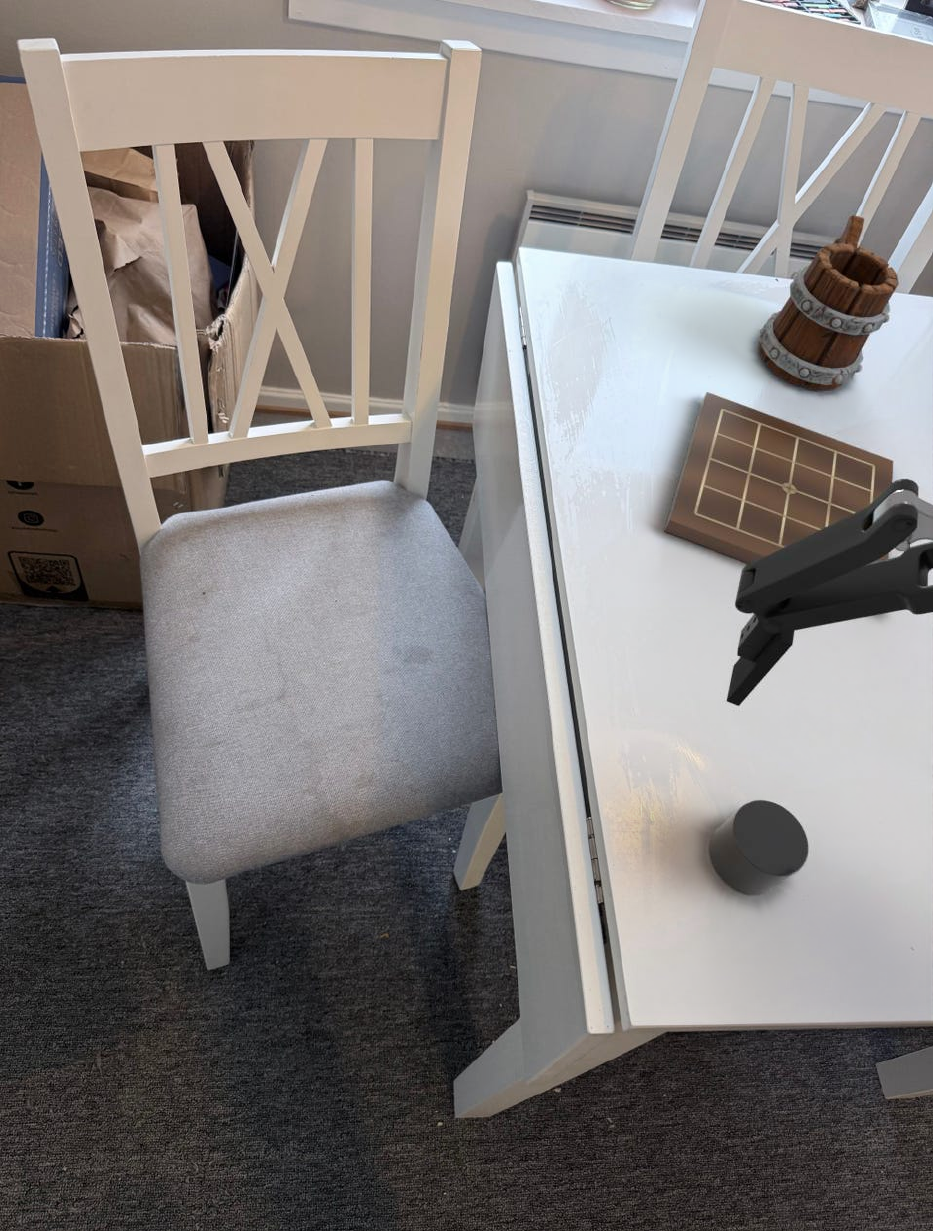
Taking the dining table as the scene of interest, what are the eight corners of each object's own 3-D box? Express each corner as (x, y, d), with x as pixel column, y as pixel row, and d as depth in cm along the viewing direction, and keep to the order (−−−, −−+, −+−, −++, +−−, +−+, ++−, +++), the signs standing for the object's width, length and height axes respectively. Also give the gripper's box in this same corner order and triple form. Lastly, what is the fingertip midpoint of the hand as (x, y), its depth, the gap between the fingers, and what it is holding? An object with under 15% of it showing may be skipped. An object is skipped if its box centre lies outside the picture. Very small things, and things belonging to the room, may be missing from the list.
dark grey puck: (795, 871, 59) (824, 851, 55) (744, 909, 56) (771, 891, 53) (745, 809, 61) (770, 786, 58) (694, 843, 59) (717, 822, 55)
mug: (752, 380, 91) (820, 241, 81) (744, 326, 101) (803, 197, 91) (856, 409, 91) (937, 274, 81) (836, 352, 101) (906, 226, 91)
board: (876, 613, 74) (886, 602, 73) (663, 531, 76) (669, 520, 75) (885, 471, 86) (893, 460, 85) (701, 402, 88) (707, 391, 86)
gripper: (1439, 523, 33) (1051, 758, 50) (836, 306, 35) (658, 604, 52) (1516, 668, 29) (1061, 873, 46) (820, 410, 31) (631, 699, 48)
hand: (846, 730), depth 49 cm, fingers open, 13 cm apart
